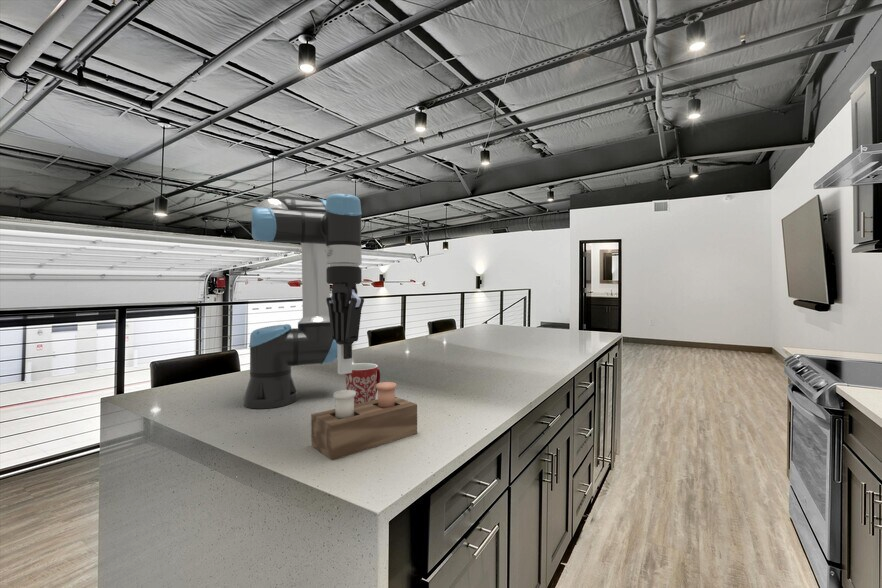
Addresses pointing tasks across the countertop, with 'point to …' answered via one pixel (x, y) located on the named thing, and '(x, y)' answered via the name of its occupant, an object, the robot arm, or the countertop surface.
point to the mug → (363, 381)
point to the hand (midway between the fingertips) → (344, 373)
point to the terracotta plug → (386, 394)
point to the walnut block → (362, 427)
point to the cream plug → (344, 403)
